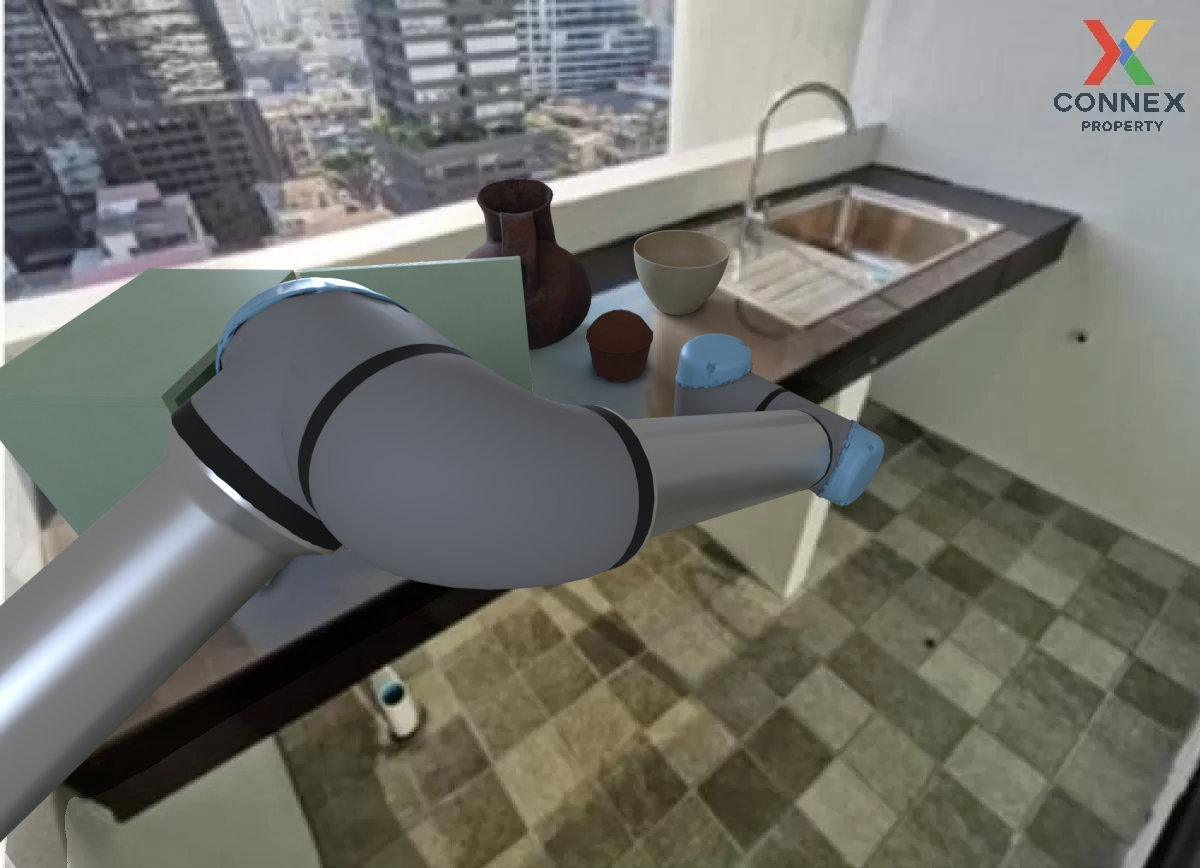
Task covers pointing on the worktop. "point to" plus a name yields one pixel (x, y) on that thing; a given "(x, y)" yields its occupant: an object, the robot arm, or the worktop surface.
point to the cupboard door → (458, 305)
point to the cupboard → (118, 383)
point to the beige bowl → (680, 268)
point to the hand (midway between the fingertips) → (443, 455)
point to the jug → (535, 258)
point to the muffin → (619, 345)
